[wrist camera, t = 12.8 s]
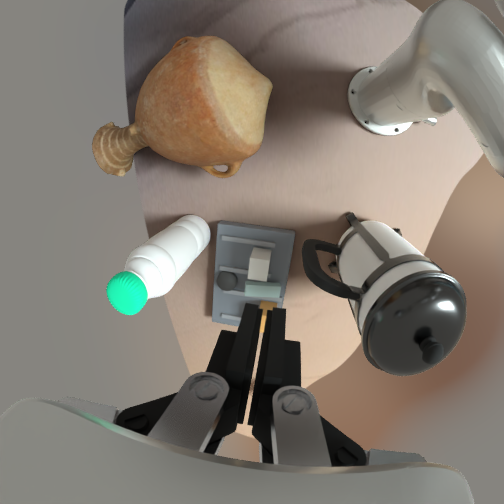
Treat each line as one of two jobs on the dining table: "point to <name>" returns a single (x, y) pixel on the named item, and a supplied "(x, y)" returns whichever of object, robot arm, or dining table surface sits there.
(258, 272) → the ivory fader
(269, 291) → the block
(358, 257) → the coffee press
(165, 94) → the jug
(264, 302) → the orange fader
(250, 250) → the panel
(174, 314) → the dining table surface
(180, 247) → the water bottle
